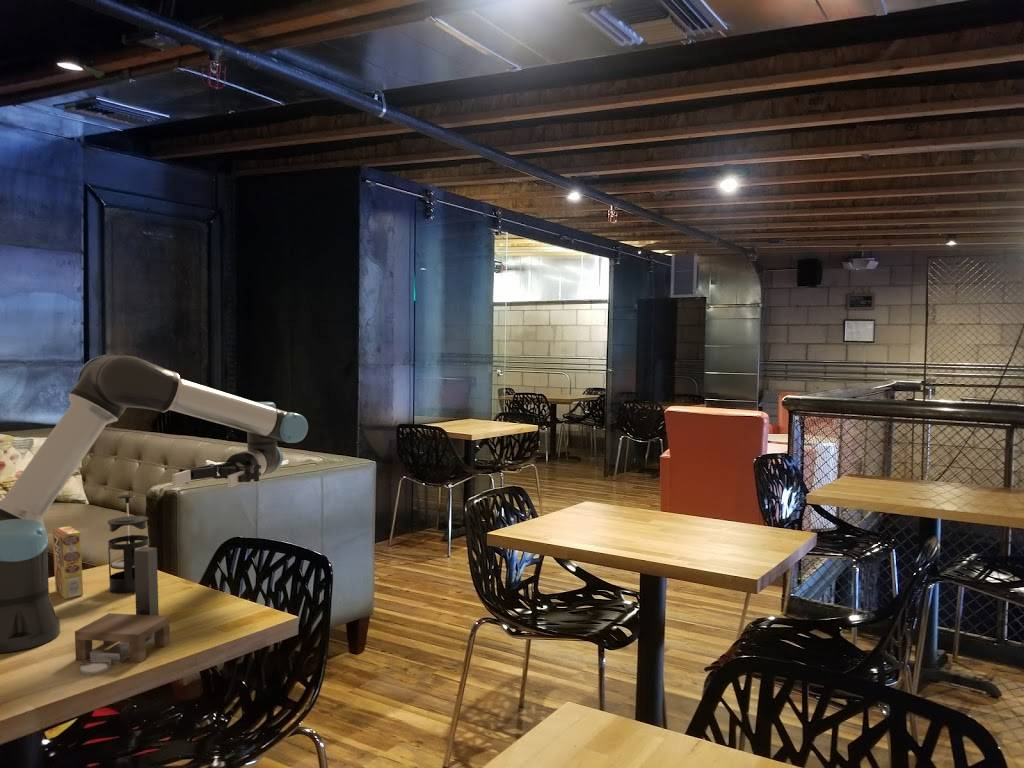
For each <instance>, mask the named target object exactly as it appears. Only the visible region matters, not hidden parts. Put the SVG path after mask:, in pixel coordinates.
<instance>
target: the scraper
mask: <svg viewBox="0 0 1024 768" xmlns="http://www.w3.org/2000/svg"><path fill="white" fill-rule="evenodd" d="M157 548H158V547H152V546H151V547H150V546H149V547H148V546H143V547H139V548H137V549H135V551H134V566H135V593H134V594H135V614H136V615H158V616H160V615H159V614H160V613H159V611H160V610H159V583H158V581H159V580H158V578H159V577H158V549H157ZM152 642H155V638H154V633H153V634H152V635H150V636H149V637H147V638H145V647H147V646H148V645H149V643H150V644H151V643H152ZM128 656H129V642H117V643H116V644H113V645H112V647H110V648H108V649H107V650H99V649H92V651H91V652H90V658H89V659H92V658H97V657H107V658H110V659H111V665H121V664H123V663H122V662H124V659H125V658H126V659H128V658H129V657H128ZM127 657H128V658H127ZM126 659H125V660H126ZM120 663H121V664H120Z"/></svg>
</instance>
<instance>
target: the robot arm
mask: <svg viewBox="0 0 1024 768" xmlns="http://www.w3.org/2000/svg"><path fill="white" fill-rule="evenodd" d="M68 398H69V402H70V405H69V407H68V408H67V410H66V411H65V412H64V414H63V415H62V416H61V418H60V419H59V420H58V422H57V423H56V424H55V426H54V427H53V428H52V431H50V433H49V435H48V436H47V437H46V439H45V440H44V442H43V443H42V444H41V446H40V447H39V448H38V450H37V452H36V453H35V454H34V455H33V456H32V459H31V460H30V461H29V463H28V464H27V465H26V467H25V468H24V469H23V471H21V474H20V475H19V476H18V478H17V479H16V481H15V482H14V484H13V485H12V486H11V487H10V489H9V491H8V492H7V493H6V494H5V496H4V498H2V499H0V654H3V653H4V654H5V653H11V652H12V653H13V652H18V651H23V650H27V649H31V648H34V647H38V646H40V645H43V644H47V643H49V642H51V641H52V640H54V639H55V638H57V637H58V636H59V635H60V634H61V621H60V619H59V617H58V615H57V614H56V611H55V608H54V606H53V603H52V601H51V597H50V590H49V589H50V588H49V587H50V586H49V585H50V584H49V583H50V582H49V562H48V561H49V560H48V559H49V557H48V554H49V553H48V544H49V538H48V535H47V529H46V527H45V522H44V516H45V514H46V513H47V512H48V510H49V509H50V507H51V506H52V504H53V503H54V502H55V500H56V499H57V497H58V496H59V494H60V493H61V491H62V490H63V488H64V487H65V485H66V484H67V483H68V481H69V479H70V478H71V477H72V475H73V474H74V473H75V471H76V470H77V468H78V467H79V465H80V464H81V462H82V461H83V459H84V458H85V457H86V455H87V453H88V452H89V451H90V449H91V447H92V446H93V445H94V444H95V442H96V441H97V439H98V438H99V436H100V435H101V433H102V432H103V430H104V429H105V427H106V426H107V425H108V424H111V423H115V422H118V421H119V419H120V418H121V417H122V415H123V414H124V412H125V411H126V409H127V408H133V409H134V408H136V409H145V410H151V411H152V410H153V411H156V412H159V413H166V412H168V411H172V412H176V413H180V414H183V415H188V416H191V417H194V418H198V419H202V420H205V421H209V422H212V423H216V424H220V425H223V426H228V427H230V428H235V429H238V430H241V431H244V432H246V433H247V435H246V436H247V437H246V438H247V442H246V443H247V450H244V451H240V452H238V453H235V454H232V455H230V456H229V457H228V458H227V459H226V461H225V462H222V463H219V464H218V463H217V464H215V463H210V464H206V465H200V466H194V467H186V468H180V469H178V472H177V473H173V474H171V476H172V477H171V480H172V482H171V484H172V487H177V486H178V487H179V486H181V485H184V484H185V485H186V484H187V485H188V484H189V483H190V482H191V481H193V480H204V479H211V478H212V479H215V480H218V479H219V480H220V479H225V480H227V487H228V488H234V487H237V486H238V485H241V484H244V483H251V482H255V483H257V482H259V481H260V477H263V476H265V475H268V474H271V473H274V472H275V471H276V470H277V469H279V468H280V467H281V465H282V464H283V460H284V454H283V452H282V450H281V448H280V447H278V442H277V441H279V442H285V443H288V444H292V443H293V444H294V443H299V442H301V441H303V440H304V439H305V437H306V436H307V434H308V431H309V424H308V421H307V419H306V417H305V416H303V415H302V414H299V413H296V412H293V411H292V412H291V411H290V412H289V411H286V410H282V409H279V408H277V406H276V404H275V403H274V402H272V401H253V400H250V399H247V398H244V397H241V396H238V395H235V394H231V393H227V392H226V391H225V392H224V391H221V390H218V389H215V388H212V387H209V386H207V385H202V384H199V383H196V382H192V381H189V380H187V379H184V378H181V377H180V375H179V373H178V372H176V371H172V370H170V369H167V368H164V367H162V366H159V365H157V364H154V363H152V362H149V361H147V360H146V359H145V360H144V359H142V358H139V357H137V356H132V355H116V354H104V355H99V356H96V357H94V358H92V359H90V360H88V361H87V362H86V363H85V364H83V365H82V367H81V368H80V370H79V372H78V374H77V378H76V384H75V386H74V387H73V388H72V390H71V391H70V393H69V394H68ZM218 474H219V475H218Z"/></svg>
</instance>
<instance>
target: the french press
mask: <svg viewBox="0 0 1024 768" xmlns="http://www.w3.org/2000/svg"><path fill="white" fill-rule="evenodd" d="M137 495H138V494H135V493H126V494H121V495H118V496H117V498H118V499H124V500H125V501H124V503H125V504H126V515H125V516H121V517H115V518H111V519H109V520H108V521H107V522H106V523H107V525H109V531H110V532H111V533H113V532H116V531H117V530H119V529H120V528H122V527H124V526H127V535H123V536H118V537H115V538H112V539H109V540H108V541H107V542H108V543H107V547H108V549H107V550H108V551H107V552H108V573H109V574H108V577H109V581H108V582H109V587H108V591H109V593H110V592H111V594H113V593H117V594H116V595H127V593H130V594H135V593H134V592H135V566H134V551H135V550H136V549H140V548H142V547H150V536H148V535H143V534H142V535H141V534H130V526H132V527H135V528H137V529H139V530H145V529H146V528H147V522H148V520H149V517H148V516H145V515H130V514H129V512H130V511H129V508H130V507H129V503H130V500H131V499H133V498H136V497H137ZM122 542H125V543H122ZM111 550H115V551H116V550H118V551H122V552H123V558H120V559H119V560H115V561H112V562H111ZM112 569H113V570H121V571H117V572H114V573H113V574H112V572H111V571H112Z"/></svg>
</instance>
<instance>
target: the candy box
mask: <svg viewBox="0 0 1024 768" xmlns="http://www.w3.org/2000/svg"><path fill="white" fill-rule="evenodd" d="M51 533H52V537H51V538H52V551H53V553H52V554H53V567H54V568H53V569H54V585H55V588H54V589H55V592H57V594H58V595H60V596H61V597H63V598H64V599H65V600H67V599H72V598H76V597H79V596H80V597H81V596H84V587H83V583H84V582H83V565H82V545H81V544H82V543H81V532H80V531H78V530H77V529H76V528H73V527H72V526H62V527H57V528H52V531H51Z"/></svg>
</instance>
